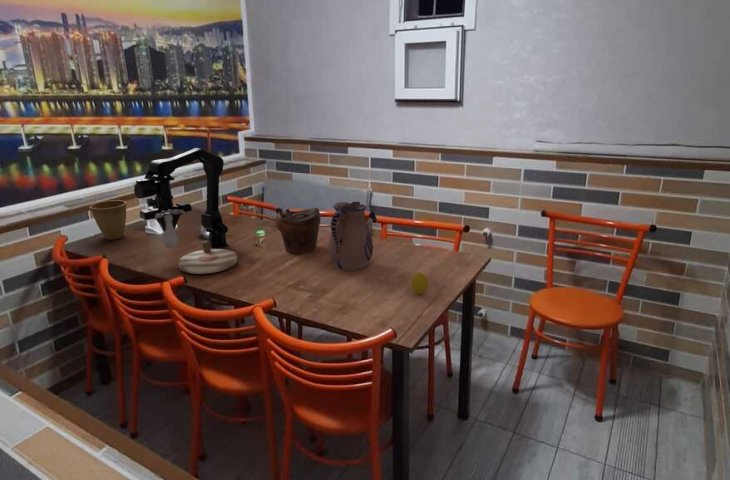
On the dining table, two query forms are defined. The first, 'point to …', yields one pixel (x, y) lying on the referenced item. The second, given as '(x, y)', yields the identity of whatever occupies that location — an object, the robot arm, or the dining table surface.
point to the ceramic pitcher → (350, 236)
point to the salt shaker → (169, 232)
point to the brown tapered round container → (299, 229)
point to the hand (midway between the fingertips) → (169, 231)
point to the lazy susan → (207, 260)
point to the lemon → (419, 283)
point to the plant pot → (110, 218)
